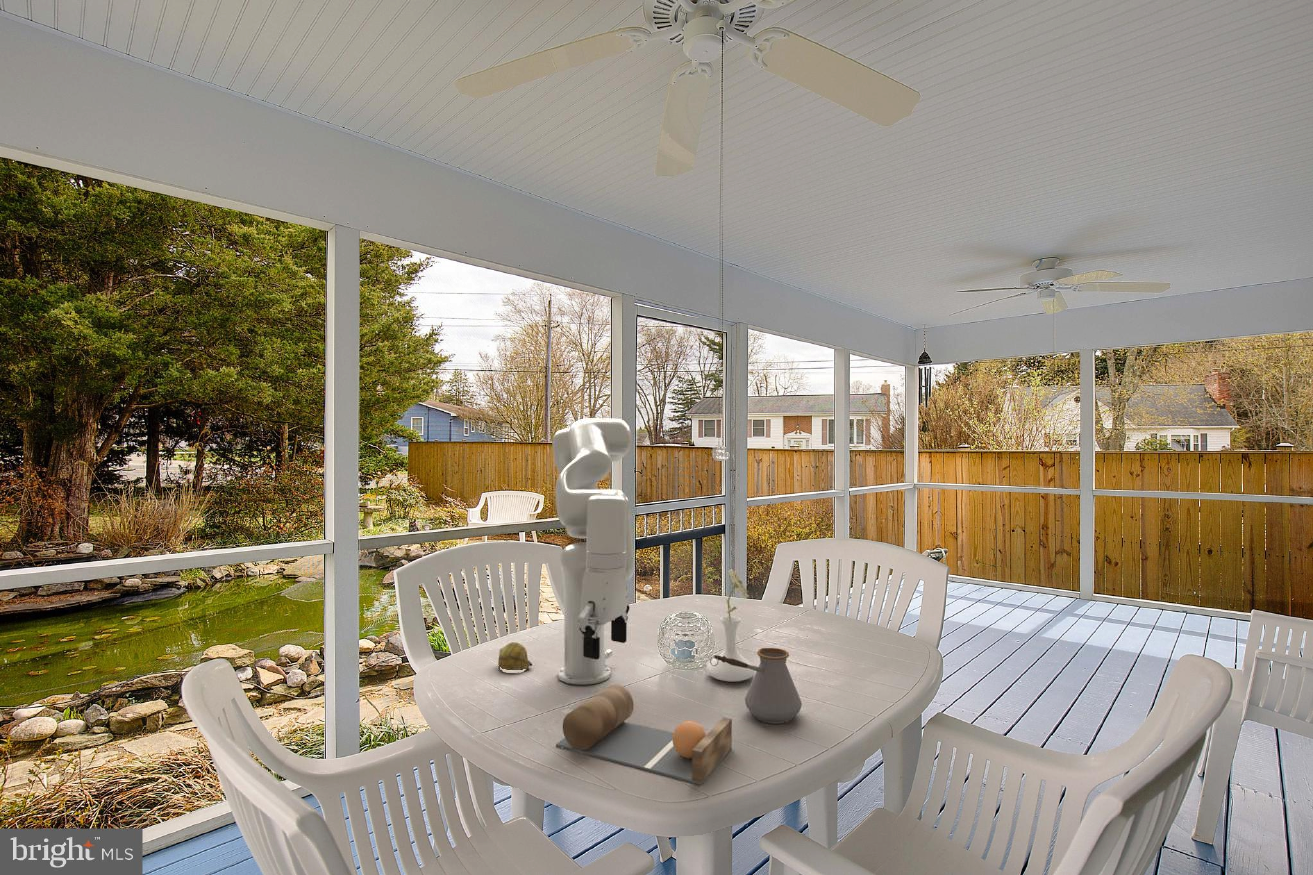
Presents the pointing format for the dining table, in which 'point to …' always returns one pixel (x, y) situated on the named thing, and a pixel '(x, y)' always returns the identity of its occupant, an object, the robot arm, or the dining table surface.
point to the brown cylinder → (597, 717)
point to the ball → (687, 738)
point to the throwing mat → (642, 751)
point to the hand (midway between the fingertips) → (605, 649)
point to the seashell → (513, 657)
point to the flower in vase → (731, 644)
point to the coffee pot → (770, 687)
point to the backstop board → (711, 749)
